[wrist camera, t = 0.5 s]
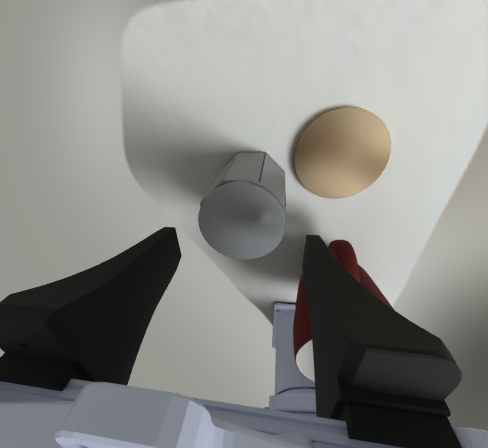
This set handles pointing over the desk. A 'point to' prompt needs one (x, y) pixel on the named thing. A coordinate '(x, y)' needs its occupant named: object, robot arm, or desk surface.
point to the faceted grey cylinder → (245, 207)
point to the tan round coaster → (342, 152)
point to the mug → (301, 316)
